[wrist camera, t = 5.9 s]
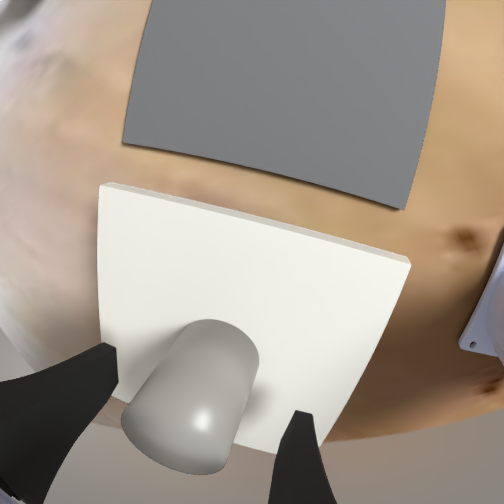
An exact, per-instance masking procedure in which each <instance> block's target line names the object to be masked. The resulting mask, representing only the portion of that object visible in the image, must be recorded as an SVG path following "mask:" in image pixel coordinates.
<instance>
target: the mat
mask: <svg viewBox="0 0 504 504" xmlns="http://www.w3.org/2000/svg"><path fill="white" fill-rule="evenodd" d="M445 7H446V0H153V2H152V6H151V9H150V13H149V16H148V20H147V23H146V27H145V31H144V34H143V38H142V42H141V46H140V51H139V55H138V59H137V63H136V68H135V73H134V77H133V82H132V87H131V92H130V98H129V103H128V109H127V115H126V121H125V128H124V134H123V141H122V143H129V144H135V145H141V146H147V147H153V148H159V149H165V150H170V151H176V152H181V153H186V154H191V155H196V156H201V157H206V158H211V159H216V160H221V161H225V162H230V163H234V164H239V165H243V166H248V167H252V168H256V169H260V170H265V171H269V172H273V173H277V174H281V175H285V176H289V177H293V178H296V179H300V180H304V181H308V182H312V183H315V184H319V185H323V186H326V187H330V188H333V189H337V190H340V191H344V192H347V193H350V194H354V195H357V196H360V197H364V198H367V199H370V200H374V201H377V202H380V203H383V204H386V205H389V206H392V207H395V208H399V209H402V210H405V206H406V203H407V200H408V197H409V193H410V190H411V186H412V183H413V179H414V176H415V172H416V169H417V165H418V161H419V157H420V153H421V149H422V145H423V141H424V137H425V133H426V129H427V124H428V120H429V115H430V110H431V105H432V100H433V95H434V90H435V84H436V79H437V73H438V66H439V60H440V53H441V45H442V37H443V29H444V19H445Z"/></svg>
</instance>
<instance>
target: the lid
mask: <svg viewBox="0 0 504 504" xmlns="http://www.w3.org/2000/svg"><path fill="white" fill-rule="evenodd" d="M410 268H411V263H410V261H409V260H408V258H407V257H406V256H403V255H399V254H396V253H392V252H389V251H386V250H382V249H379V248H375V247H372V246H368V245H365V244H361V243H357V242H354V241H350V240H347V239H343V238H339V237H336V236H332V235H329V234H325V233H321V232H317V231H314V230H310V229H306V228H302V227H299V226H295V225H291V224H287V223H283V222H280V221H276V220H272V219H268V218H264V217H260V216H256V215H252V214H248V213H244V212H240V211H236V210H232V209H228V208H224V207H220V206H215V205H211V204H207V203H203V202H199V201H194V200H190V199H186V198H181V197H177V196H173V195H168V194H164V193H160V192H155V191H151V190H146V189H142V188H137V187H132V186H128V185H123V184H118V183H114V182H109V183H106V184H102V185H100V188H99V205H98V235H97V270H98V300H99V317H100V330H101V342H102V343H103V342H105V343H107V344H109V345H112V346H114V347H116V350H117V366H118V378H119V383H118V385H117V386H116V388H115V390H114V391H113V393H112V395H111V396H113V397H115V398H118V399H120V400H122V401H124V402H126V403H128V404H129V405H128V406H127V407H126V409H125V410H124V412H123V413H122V415H121V425H122V428H123V430H124V432H125V434H126V436H127V437H128V438H129V440H130V441H131V442H132V443H133V444H134V445H135V446H136V447H137V448H138V449H139V450H140V451H141V452H142V453H144V454H145V455H146V456H148V457H149V458H151V459H153V460H154V461H156V462H158V463H159V464H161V465H163V466H165V467H168V468H170V469H173V470H176V471H179V472H183V473H187V474H193V475H208V474H213V473H216V472H218V471H220V470H221V469H222V468H223V467H224V466H225V464H226V462H227V459H228V456H229V453H230V450H231V447H232V445H233V443H236V444H239V445H242V446H246V447H250V448H254V449H257V450H261V451H265V452H269V453H273V454H277V451H278V448H279V444H280V440H281V438H282V436H283V434H284V432H285V430H286V428H287V426H288V424H289V422H290V420H291V418H292V416H293V414H294V412H295V410H299V411H303V412H307V413H311V414H312V415H313V418H314V426H315V432H316V437H317V442H318V447H320V446H321V444H322V443H323V441H324V439H325V438H326V436H327V435H328V433H329V431H330V430H331V428H332V427H333V425H334V423H335V422H336V420H337V418H338V417H339V415H340V413H341V412H342V410H343V408H344V406H345V405H346V403H347V401H348V399H349V398H350V396H351V394H352V392H353V390H354V389H355V387H356V385H357V383H358V381H359V379H360V378H361V376H362V374H363V372H364V370H365V368H366V366H367V364H368V362H369V360H370V358H371V356H372V354H373V352H374V350H375V348H376V346H377V344H378V342H379V340H380V338H381V336H382V334H383V331H384V329H385V327H386V325H387V323H388V320H389V318H390V316H391V314H392V311H393V309H394V307H395V305H396V302H397V300H398V297H399V295H400V293H401V290H402V288H403V285H404V283H405V280H406V278H407V275H408V273H409V270H410Z"/></svg>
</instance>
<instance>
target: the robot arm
mask: <svg viewBox="0 0 504 504" xmlns="http://www.w3.org/2000/svg"><path fill="white" fill-rule="evenodd" d="M473 341H474V343H473V344H471V342H473ZM458 342H459V346H460V348H461V349H463V350H467V351H471V352H476V353H481V354H486V355H490V356H495V357H499V359H500V360H501V362H502V364H503V366H504V244H503V247H502V249H501V252H500V254H499V257H498V259H497V262H496V264H495V267H494V269H493V272H492V274H491V276H490V278H489V281H488V283H487V285H486V287H485V290H484V292H483V294H482V296H481V298H480V300H479V302H478V304H477V306H476V308H475V310H474V312H473V314H472V316H471V318H470V320H469V322H468V324H467V326H466V328H465V330H464V332H463V333H462V335H461V337H460V339H459V341H458ZM470 344H471V345H470ZM118 383H119V378H118V366H117V350H116V347H114V346H112V345H109V344H107V343H105V342H103V343H101V344H99V345H97V346H95V347H93V348H91V349H89V350H86V351H84V352H82V353H80V354H78V355H76V356H74V357H72V358H70V359H68V360H66V361H63V362H61V363H59V364H57V365H54V366H52V367H49V368H47V369H44V370H42V371H39V372H37V373H34V374H31V375H27V376H24V377H20V378H17V379H13V380H8V381H3V382H0V504H18V503H17V502H16V501H15V500H13V499H12V498H11V497H12V496H13V497H15V498H16V499H17V500H19V501H20V500H22V501H23V502H24V503H26V504H43V502H44V500H45V497H46V495H47V492H48V490H49V488H50V486H51V484H52V482H53V480H54V478H55V476H56V474H57V471H58V470H59V468H60V466H61V465H62V463H63V461H64V459H65V457H66V456H67V454H68V452H69V451H70V449H71V447H72V446H73V444H74V443H75V441H76V440H77V439H78V437H79V436H80V435H81V433H82V432H83V431H84V430H85V428H86V427H87V426H88V425H89V423H90V422H91V421H92V420H93V419H94V417H95V416H96V415H97V414H98V412H99V411H100V410H101V409H102V407H103V406H104V405H105V404H106V402H107V401H108V400H109V398H110V396H111V395H112V393H113V391H114V390H115V388H116V386H117V385H118ZM268 504H337V502H336V500H335V498H334V495H333V493H332V490H331V488H330V485H329V482H328V479H327V476H326V473H325V469H324V466H323V463H322V459H321V455H320V452H319V447H318V442H317V437H316V432H315V426H314V418H313V415H312V414H311V413H307V412H303V411H299V410H295V412H294V414H293V416H292V418H291V420H290V422H289V424H288V426H287V428H286V430H285V432H284V434H283V436H282V438H281V440H280V444H279V448H278V451H277V455H276V459H275V463H274V469H273V475H272V482H271V488H270V494H269V501H268Z"/></svg>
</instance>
